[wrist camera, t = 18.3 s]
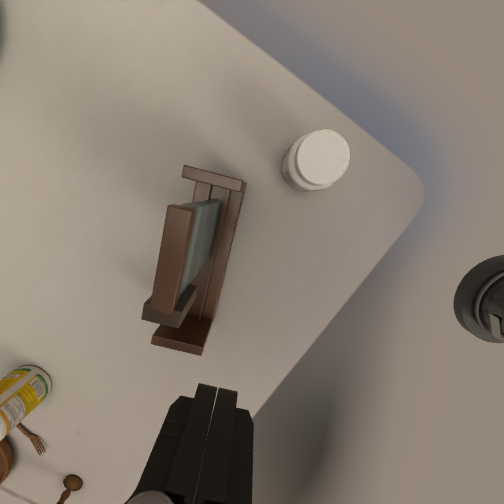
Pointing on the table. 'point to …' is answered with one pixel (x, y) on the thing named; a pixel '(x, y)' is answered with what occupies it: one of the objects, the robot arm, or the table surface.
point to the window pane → (181, 260)
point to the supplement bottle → (21, 395)
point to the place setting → (3, 456)
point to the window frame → (212, 273)
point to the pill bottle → (316, 160)
